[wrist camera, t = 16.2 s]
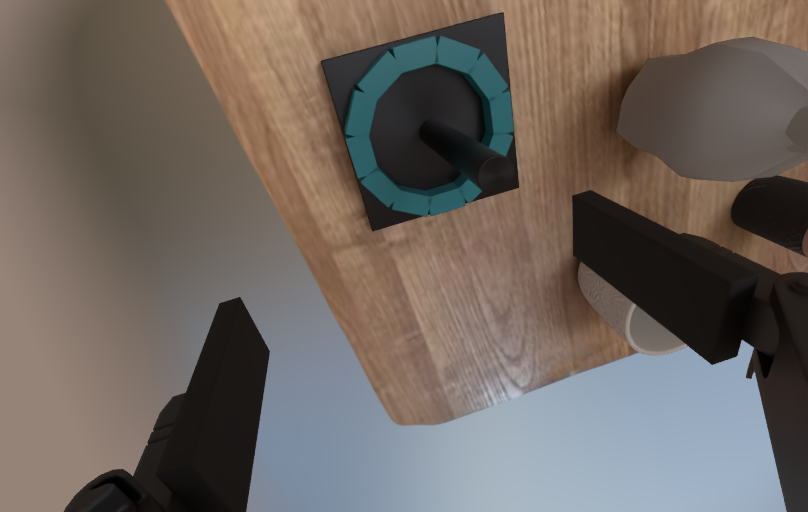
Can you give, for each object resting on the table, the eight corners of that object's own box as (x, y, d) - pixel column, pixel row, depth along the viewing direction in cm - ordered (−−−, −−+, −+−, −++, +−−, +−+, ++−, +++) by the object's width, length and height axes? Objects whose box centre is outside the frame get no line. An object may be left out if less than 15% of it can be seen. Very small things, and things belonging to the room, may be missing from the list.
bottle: (584, 56, 38) (1201, 59, 11) (691, 25, 38) (1507, -40, 12) (585, 168, 43) (1003, 344, 17) (678, 139, 44) (1221, 265, 17)
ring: (372, 226, 40) (375, 234, 38) (322, 66, 32) (322, 67, 31) (511, 183, 40) (520, 188, 39) (493, 18, 33) (503, 16, 31)
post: (370, 225, 41) (399, 318, 27) (320, 60, 33) (323, 65, 19) (513, 183, 42) (614, 250, 28) (496, 13, 34) (626, -16, 20)
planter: (649, 196, 46) (734, 232, 37) (661, 272, 52) (738, 321, 43) (555, 246, 47) (615, 295, 37) (578, 316, 53) (635, 373, 43)
